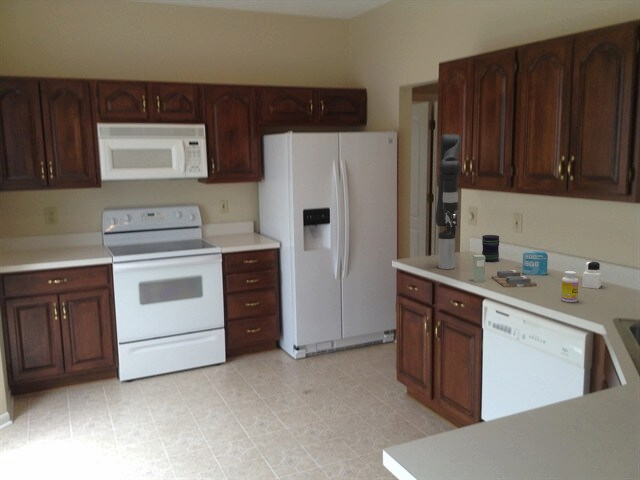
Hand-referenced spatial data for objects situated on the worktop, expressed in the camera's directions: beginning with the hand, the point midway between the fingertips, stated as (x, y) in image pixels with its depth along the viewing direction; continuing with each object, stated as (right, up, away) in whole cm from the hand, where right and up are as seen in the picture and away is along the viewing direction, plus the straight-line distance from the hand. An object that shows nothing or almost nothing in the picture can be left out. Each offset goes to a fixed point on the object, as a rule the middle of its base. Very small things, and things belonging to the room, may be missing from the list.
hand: (450, 232), depth 287 cm
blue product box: (+48, -22, +15) cm, 55 cm away
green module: (+15, -25, +4) cm, 29 cm away
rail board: (+31, -25, -1) cm, 40 cm away
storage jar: (+36, -16, +52) cm, 65 cm away
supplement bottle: (+43, -31, -38) cm, 65 cm away
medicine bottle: (+64, -26, -15) cm, 71 cm away
